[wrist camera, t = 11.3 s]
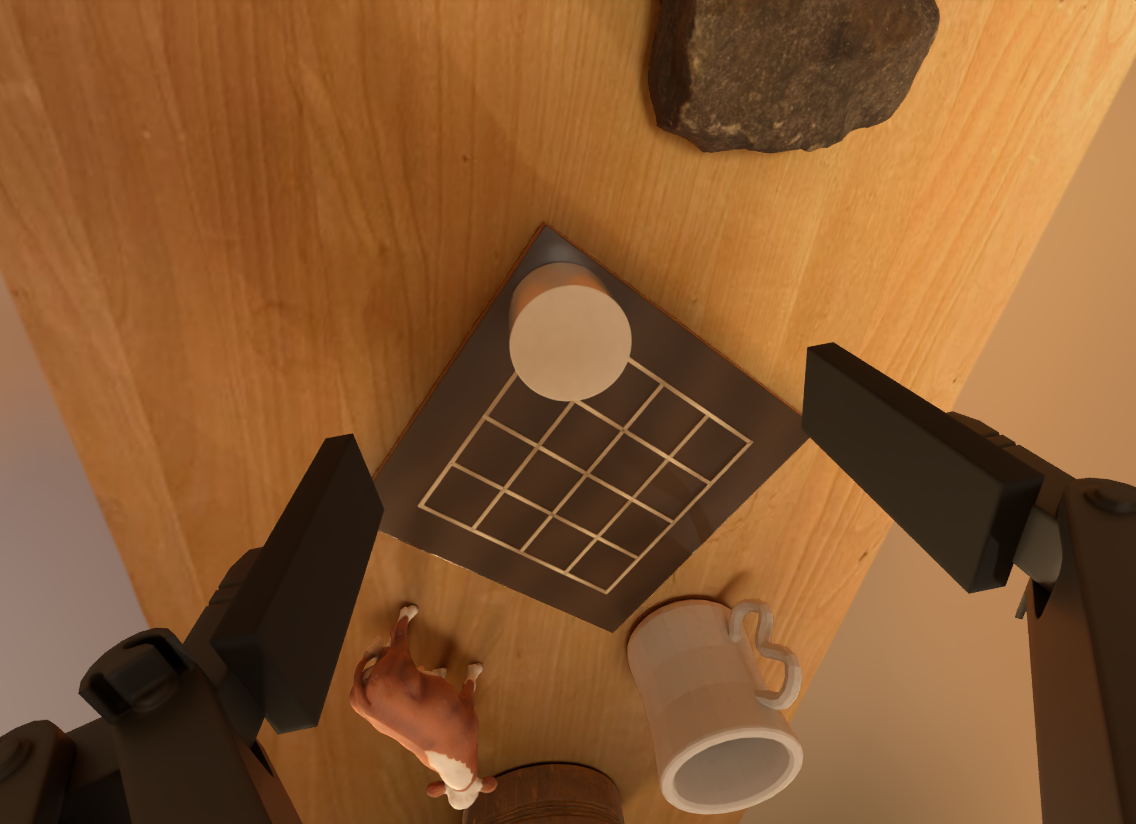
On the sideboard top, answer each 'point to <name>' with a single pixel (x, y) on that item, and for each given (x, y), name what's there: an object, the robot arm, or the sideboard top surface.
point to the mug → (715, 705)
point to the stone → (784, 69)
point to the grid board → (582, 458)
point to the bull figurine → (423, 713)
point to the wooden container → (548, 798)
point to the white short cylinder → (567, 333)
